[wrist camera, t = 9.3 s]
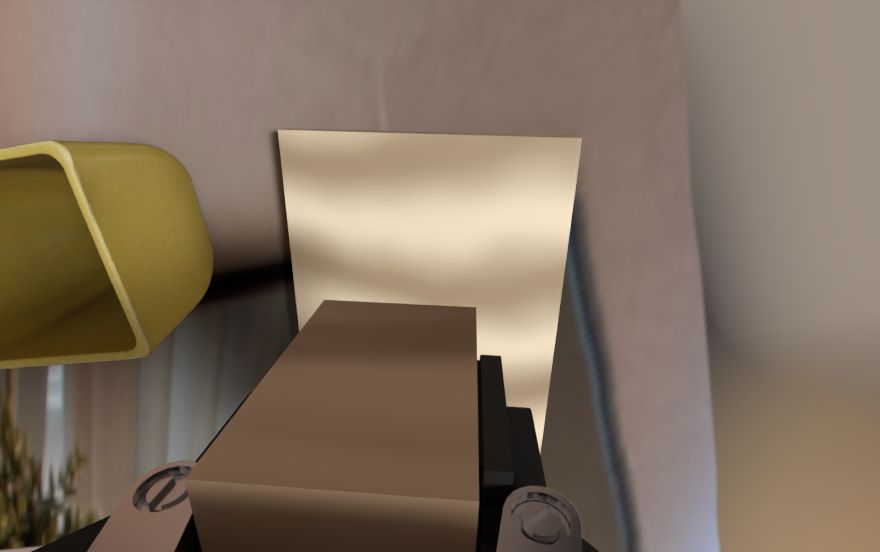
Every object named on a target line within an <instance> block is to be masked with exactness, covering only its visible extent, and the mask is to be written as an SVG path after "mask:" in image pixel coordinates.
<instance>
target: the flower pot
mask: <svg viewBox="0 0 880 552" xmlns="http://www.w3.org/2000/svg"><path fill="white" fill-rule="evenodd" d="M213 262H214V260H213V245H212V242H211V239H210V236H209V233H208V230H207V227H206V224H205V221H204V218H203V215H202V212H201V209H200V206H199V203H198V200H197V197H196V194H195V191H194V187H193V184H192V181H191V178H190V175H189V173H188V171H187V170H186V169H185V167H184V166H183V165H182V164H181V163H180V162H179V161H178V160H177V159H176V158H175V157H174V156H172V155H171V154H169V153H167V152H165V151H163V150H161V149H159V148H156V147H152V146H149V145H143V144H132V143H110V142H73V141H42V142H36V143H30V144H24V145H19V146H14V147H9V148H3V149H0V369H9V368H22V367H33V366H47V365H59V364H70V363H86V362H98V361H116V360H128V359H135V358H140V357H145V356H148V355H149V354H150V353H151V352H152V351H153V350H154V349H155V348H156V347H157V346H158V345H159V344H160V343H161V342H162V341H163V340H164V339H165V338H166V337H167V336H168V335H169V334H170V333H171V331H172V330H173V329H174V328H175V327H176V326H177V325H178V324H179V323H180V322H181V321H182V320H183V319H184V318H185V317H186V316H187V315H188V314H189V313H190V312H191V311H192V310H193V309H194V308H195V306H196V305H197V304H198V303H199V302H200V300H201V299H202V298H203V296H204V294H205V293H206V291H207V289H208V286H209V284H210V281H211V277H212V272H213Z"/></svg>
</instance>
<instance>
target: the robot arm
mask: <svg viewBox="0 0 880 552" xmlns="http://www.w3.org/2000/svg"><path fill="white" fill-rule="evenodd" d="M477 389H478V455H479V512H478V526H477V539H476V552H599V551H598V550H596V549H595V548H594V547H593V546H591V545H590V544H589V543H588V542H586V541H585V540H584V539H583V538H582V526H581V521H580V517H579V514H578V512H577V511H576V509H575V507H574V505H573V504H572V503H571V502H570V501H569V500H568V499H567V498H566V497H564V496H563V495H561V494H559V493H558V492H556V491H555V490H552V489H549V488H546V483H545V478H544V472H543V467H542V462H541V457H540V452H539V446H538V441H537V436H536V431H535V426H534V420H533V415H532V411H531V409H530V408H526V407H510V406H507V405H506V396H505V387H504V378H503V369H502V360H501V356H496V355H480V360H477ZM252 392H253V391H252ZM252 392H251V393H252ZM251 393H249V394H248V395H247V397H246V398H245V399H244V400H243V402H242V403H241V404H240V406H239V407H238V408H237V409H236V411H235V412H234V413H233V414H232V416H231V417H230V418H229V420H228V421H227V422H226V423H225V425H224V426H223V427H222V428H221V430H220V431H219V432H218V434H217V435H216V436H215V437H214V439H213V440H212V441H211V442H210V444H209V445H208V446H207V447H206V449H205V450H204V451H203V453H202V454H201V455H200V456H199V458H198V459H197V460H196V461H185V460H182V461H176V462H170V463H167V464H165V465H162V466H159V467H157V468H155V469H153V470H151V471H149V472H148V473H146V474H145V475H143V476H142V477H141V478H139V479H138V480H137V481H136V482H135V483H134V484H133V485H132V486H131V487H130V488H129V490H128V491H127V492H126V494H125V495H124V497H123V498H122V500H121V501H120V503H119V504H118V506H117V507H116V509H115V510H114V512H113V513H112V515H110V516H108V517H106V518H104V519H102V520H100V521H97V522H95V523H93V524H91V525H89V526H86V527H84V528H82V529H80V530H78V531H76V532H73V533H71V534H69V535H67V536H65V537H62V538H60V539H58V540H56V541H54V542H51V543H49V544H47V545H45V546H43V547H41V548H39V549H36V550H34V551H32V552H202V549H201V545H200V541H199V537H198V533H197V529H196V525H195V521H194V517H193V513H192V508H191V504H190V500H189V496H188V492H187V488H186V484H185V480H184V479H185V478H186V477H187V475H188V474H189V473H190V471H191V470H192V469H193V468H194V466H195V465H196V464H197V463H198V461H199V460H200V459H201V457H202V456H203V455H204V454H205V452H206V451H207V450H208V448H209V447H210V446H211V445H212V443H213V442H214V441H215V439H216V438H217V437H218V436H219V434H220V433H221V432H222V430H223V429H224V428H225V427H226V425H227V424H228V423H229V421H230V420H231V419H232V418H233V416H234V415H235V414H236V412H237V411H238V410H239V409H240V407H241V406H242V405H243V403H244V402H245V401H246V400H247V398H248V397H249V396H250V395H251Z"/></svg>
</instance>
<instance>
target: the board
mask: <svg viewBox="0 0 880 552" xmlns="http://www.w3.org/2000/svg"><path fill="white" fill-rule="evenodd" d="M278 138H279V147H280V157H281V166H282V175H283V185H284V194H285V203H286V213H287V222H288V231H289V241H290V250H291V259H292V269H293V278H294V287H295V297H296V306H297V315H298V325H299V332H300V330H301V329H302V328H303V326H304V325H305V324H306V323H307V321H308V320H309V319H310V318H311V316H312V315H313V314H314V312H315V311H316V310H317V309H318V307H319V306H320V305H321V303H322V302H323V301H324V300H339V301H360V302H380V303H400V304H420V305H440V306H461V307H476V324H477V360H480V355H496V356H501V360H502V369H503V378H504V387H505V396H506V405H507V406H510V407H526V408H530V409H531V411H532V415H533V420H534V426H535V431H536V436H537V441H538V446H539V452H541V444H542V437H543V429H544V422H545V414H546V407H547V399H548V392H549V384H550V377H551V369H552V361H553V354H554V346H555V339H556V331H557V324H558V316H559V309H560V301H561V294H562V286H563V279H564V271H565V263H566V256H567V248H568V241H569V233H570V226H571V218H572V211H573V203H574V196H575V188H576V181H577V173H578V165H579V158H580V150H581V143H582V138H580V137H577V136H540V135H502V134H464V133H426V132H388V131H350V130H312V129H281V130H278Z"/></svg>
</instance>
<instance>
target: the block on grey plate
mask: <svg viewBox="0 0 880 552" xmlns="http://www.w3.org/2000/svg"><path fill="white" fill-rule="evenodd" d="M184 480H185V484H186V488H187V492H188V496H189V500H190V504H191V508H192V513H193V517H194V521H195V525H196V529H197V533H198V537H199V541H200V545H201V549H202V552H476V539H477V526H478V512H479V455H478V389H477V324H476V307H461V306H440V305H420V304H400V303H380V302H360V301H339V300H324V301H323V302H322V303H321V305H320V306H319V307H318V309H317V310H316V311H315V312H314V314H313V315H312V316H311V318H310V319H309V320H308V321H307V323H306V324H305V325H304V326H303V328H302V329H301V330H300V332H299V333H298V334H297V335H296V337H295V338H294V339H293V341H292V342H291V343H290V344H289V346H288V347H287V348H286V350H285V351H284V352H283V353H282V355H281V356H280V357H279V359H278V360H277V361H276V362H275V364H274V365H273V366H272V368H271V369H270V370H269V371H268V373H267V374H266V375H265V377H264V378H263V379H262V380H261V382H260V383H259V384H258V386H257V387H256V388H255V389H254V391H253V392H252V393H251V395H250V396H249V397H248V398H247V400H246V401H245V402H244V403H243V405H242V406H241V407H240V409H239V410H238V411H237V412H236V414H235V415H234V416H233V418H232V419H231V420H230V421H229V423H228V424H227V425H226V427H225V428H224V429H223V430H222V432H221V433H220V434H219V436H218V437H217V438H216V439H215V441H214V442H213V443H212V445H211V446H210V447H209V448H208V450H207V451H206V452H205V454H204V455H203V456H202V457H201V459H200V460H199V461H198V463H197V464H196V465H195V466H194V468H193V469H192V470H191V471H190V473H189V474H188V475H187V477H186V478H185V479H184Z"/></svg>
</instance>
